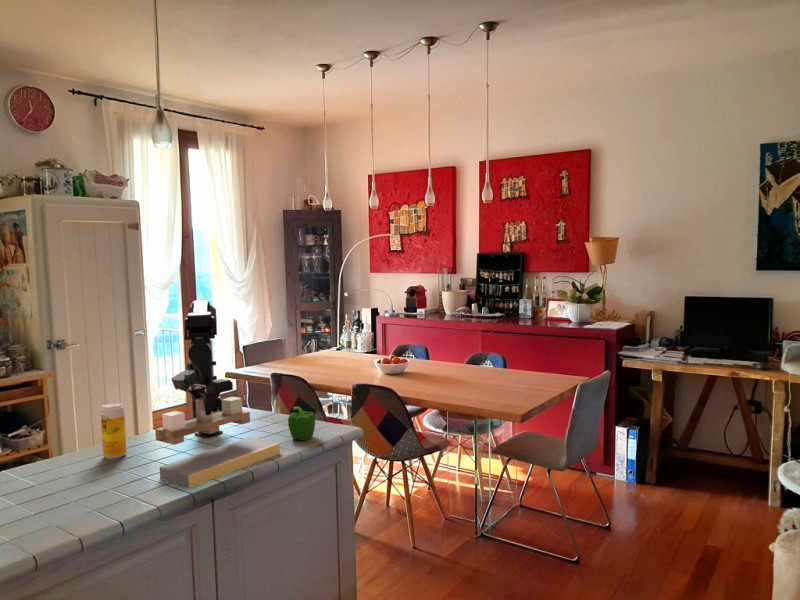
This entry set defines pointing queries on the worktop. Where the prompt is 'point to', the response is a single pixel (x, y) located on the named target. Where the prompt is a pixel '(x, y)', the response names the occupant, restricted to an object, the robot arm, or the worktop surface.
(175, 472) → the dock
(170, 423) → the block
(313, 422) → the bell pepper
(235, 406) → the pale olive cube
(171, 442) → the pallet
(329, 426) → the worktop surface
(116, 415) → the beer can
